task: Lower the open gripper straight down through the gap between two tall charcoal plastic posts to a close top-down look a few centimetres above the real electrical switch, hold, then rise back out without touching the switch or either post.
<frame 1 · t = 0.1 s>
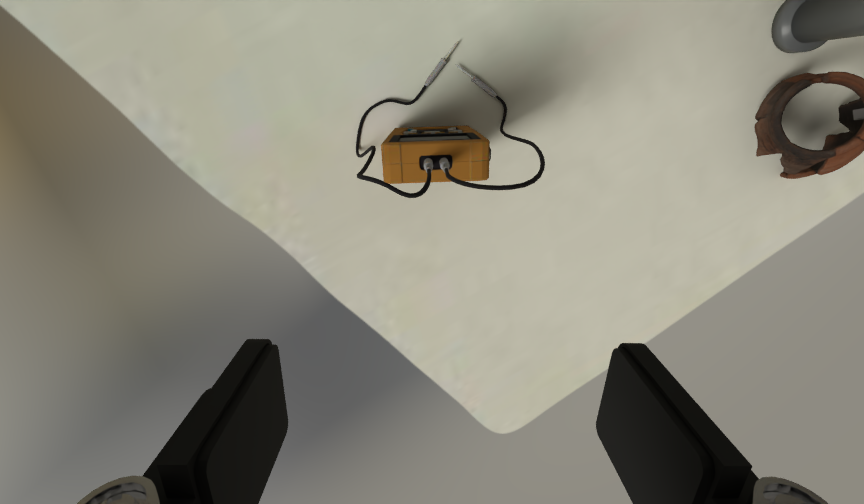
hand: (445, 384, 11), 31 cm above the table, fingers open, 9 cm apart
multimeter: (430, 101, 38), on the table
brown curved hollow piece: (795, 123, 39), on the table
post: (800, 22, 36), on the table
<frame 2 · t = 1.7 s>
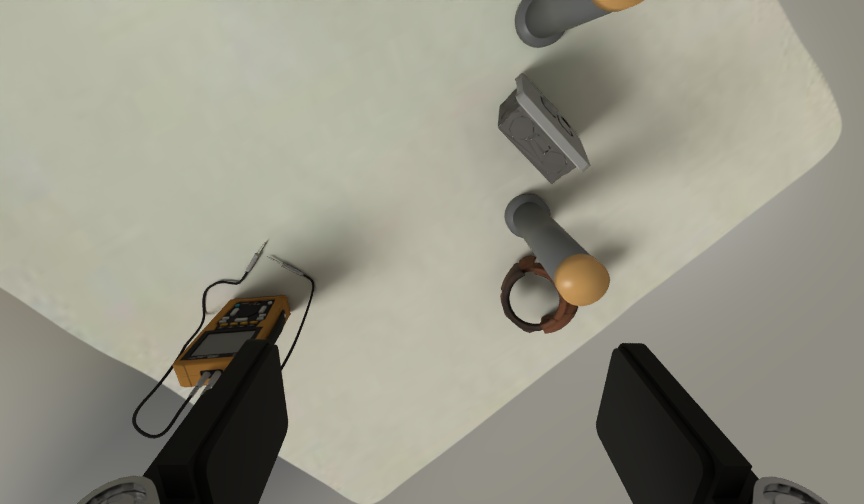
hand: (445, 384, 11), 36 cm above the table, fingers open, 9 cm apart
multimeter: (254, 279, 49), on the table
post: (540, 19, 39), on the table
brown curved hollow piece: (543, 283, 51), on the table
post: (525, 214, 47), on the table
electrical switch: (531, 125, 43), on the table
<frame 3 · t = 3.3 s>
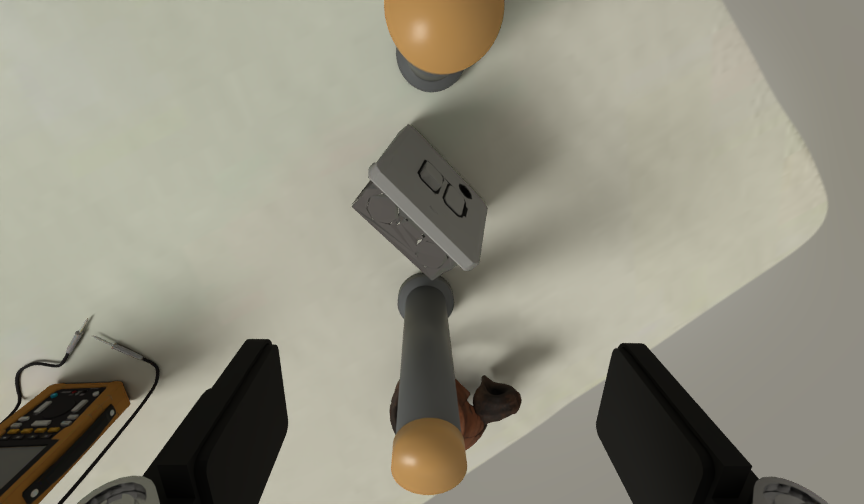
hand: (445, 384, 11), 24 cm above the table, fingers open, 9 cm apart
multimeter: (82, 360, 39), on the table
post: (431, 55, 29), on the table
brown curved hollow piece: (453, 382, 41), on the table
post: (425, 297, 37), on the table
electrical switch: (428, 189, 33), on the table
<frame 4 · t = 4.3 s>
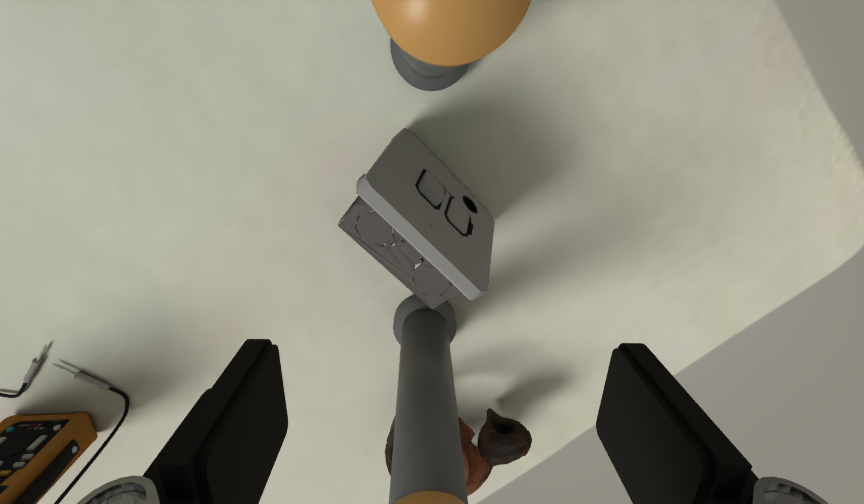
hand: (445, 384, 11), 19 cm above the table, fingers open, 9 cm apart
multimeter: (42, 390, 35), on the table
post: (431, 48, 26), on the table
brown curved hollow piece: (456, 415, 37), on the table
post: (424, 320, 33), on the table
electrical switch: (427, 200, 29), on the table
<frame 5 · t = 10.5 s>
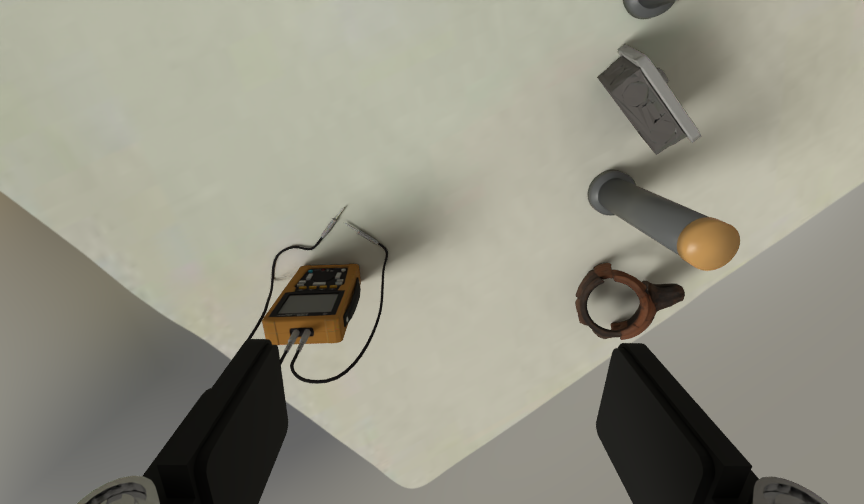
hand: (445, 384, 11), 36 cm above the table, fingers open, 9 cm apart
multimeter: (327, 246, 49), on the table
brown curved hollow piece: (615, 290, 52), on the table
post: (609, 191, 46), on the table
electrical switch: (625, 99, 43), on the table
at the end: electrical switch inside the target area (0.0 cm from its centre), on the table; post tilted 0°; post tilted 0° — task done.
